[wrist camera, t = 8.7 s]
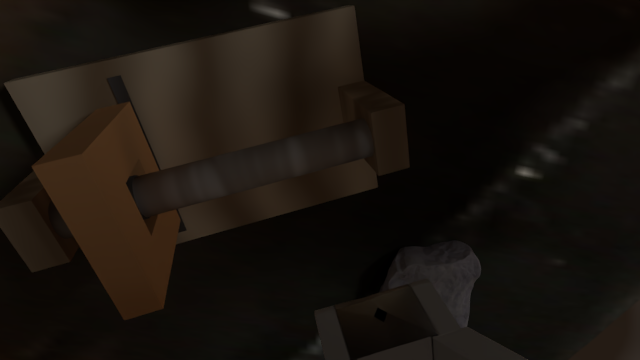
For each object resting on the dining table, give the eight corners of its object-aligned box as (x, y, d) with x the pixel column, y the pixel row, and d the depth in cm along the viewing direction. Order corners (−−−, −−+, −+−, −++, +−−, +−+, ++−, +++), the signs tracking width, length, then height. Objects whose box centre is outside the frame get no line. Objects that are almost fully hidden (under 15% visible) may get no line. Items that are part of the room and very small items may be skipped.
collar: (129, 101, 24) (81, 153, 16) (180, 220, 28) (163, 308, 20) (96, 109, 23) (31, 166, 15) (153, 227, 28) (124, 320, 20)
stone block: (363, 323, 43) (450, 323, 43) (369, 357, 39) (466, 358, 39) (373, 232, 38) (470, 234, 39) (381, 260, 34) (490, 262, 34)
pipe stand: (347, 5, 26) (396, 8, 19) (371, 179, 33) (415, 233, 25) (15, 78, 24) (-80, 115, 16) (112, 252, 30) (76, 334, 23)
